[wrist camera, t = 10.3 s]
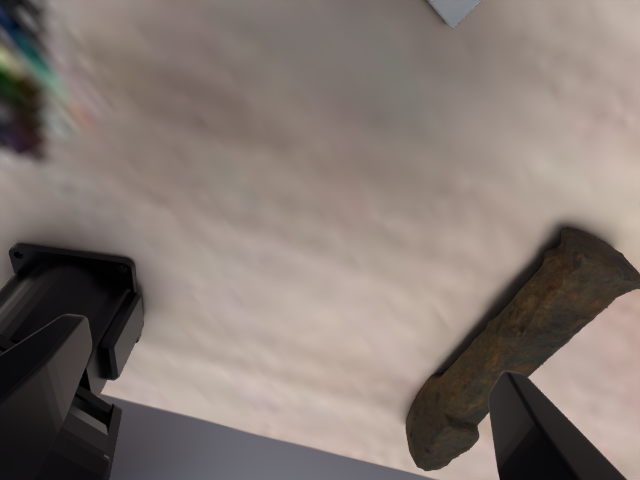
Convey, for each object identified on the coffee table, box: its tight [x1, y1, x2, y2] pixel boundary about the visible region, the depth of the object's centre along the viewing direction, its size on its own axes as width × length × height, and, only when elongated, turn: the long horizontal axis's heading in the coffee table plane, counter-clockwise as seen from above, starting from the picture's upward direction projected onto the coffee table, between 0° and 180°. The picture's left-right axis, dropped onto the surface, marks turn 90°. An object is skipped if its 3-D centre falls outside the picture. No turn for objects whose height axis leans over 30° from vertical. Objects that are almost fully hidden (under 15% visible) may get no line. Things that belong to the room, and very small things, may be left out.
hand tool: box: [406, 228, 640, 471], centre depth 26 cm, size 19×4×5 cm, turn 154°
